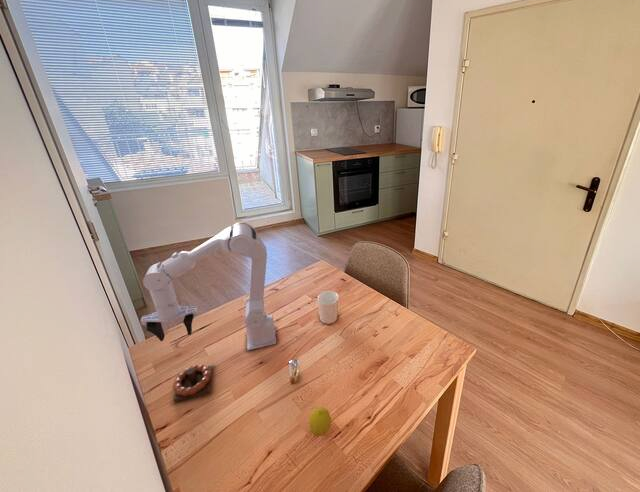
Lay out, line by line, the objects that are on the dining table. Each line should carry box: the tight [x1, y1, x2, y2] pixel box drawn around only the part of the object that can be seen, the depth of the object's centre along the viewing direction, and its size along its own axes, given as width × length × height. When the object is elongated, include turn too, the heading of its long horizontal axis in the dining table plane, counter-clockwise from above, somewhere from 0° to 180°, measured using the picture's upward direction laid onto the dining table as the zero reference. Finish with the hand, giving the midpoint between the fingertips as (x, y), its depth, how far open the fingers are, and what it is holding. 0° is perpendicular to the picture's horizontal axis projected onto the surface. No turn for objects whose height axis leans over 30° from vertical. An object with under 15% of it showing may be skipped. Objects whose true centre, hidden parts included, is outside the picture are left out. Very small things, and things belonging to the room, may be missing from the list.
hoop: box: [172, 364, 211, 396], centre depth 87 cm, size 10×10×2 cm
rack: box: [173, 365, 213, 403], centre depth 87 cm, size 9×9×6 cm
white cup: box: [317, 290, 339, 325], centre depth 113 cm, size 8×8×10 cm
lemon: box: [308, 406, 332, 437], centre depth 75 cm, size 6×6×8 cm
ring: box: [288, 357, 301, 385], centre depth 89 cm, size 7×3×8 cm, turn 174°
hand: (176, 335), depth 93 cm, fingers open, 7 cm apart
